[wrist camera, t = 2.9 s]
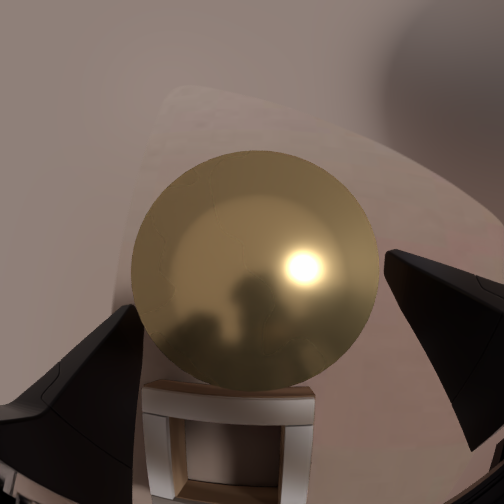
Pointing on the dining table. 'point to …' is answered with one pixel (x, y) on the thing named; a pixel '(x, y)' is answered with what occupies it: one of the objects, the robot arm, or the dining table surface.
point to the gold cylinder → (255, 271)
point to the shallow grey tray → (228, 412)
